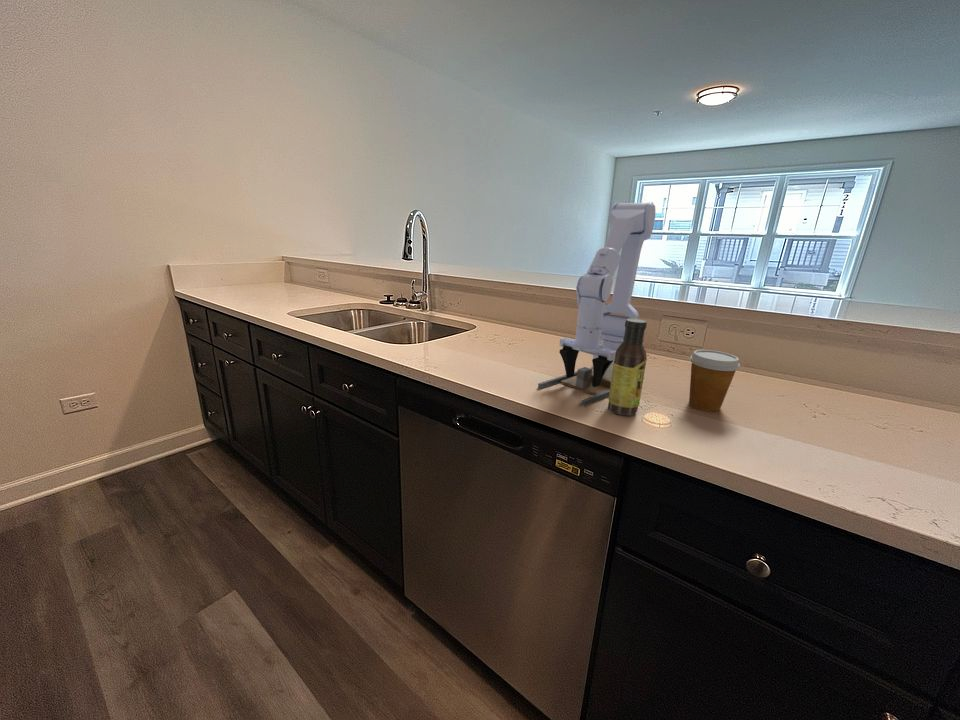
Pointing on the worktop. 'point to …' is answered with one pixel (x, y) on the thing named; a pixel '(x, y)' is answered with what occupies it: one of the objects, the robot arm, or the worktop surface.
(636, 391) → the sauce bottle
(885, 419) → the worktop surface
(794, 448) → the worktop surface
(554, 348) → the worktop surface
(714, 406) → the disposable coffee cup
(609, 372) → the white cup
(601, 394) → the lane rails
